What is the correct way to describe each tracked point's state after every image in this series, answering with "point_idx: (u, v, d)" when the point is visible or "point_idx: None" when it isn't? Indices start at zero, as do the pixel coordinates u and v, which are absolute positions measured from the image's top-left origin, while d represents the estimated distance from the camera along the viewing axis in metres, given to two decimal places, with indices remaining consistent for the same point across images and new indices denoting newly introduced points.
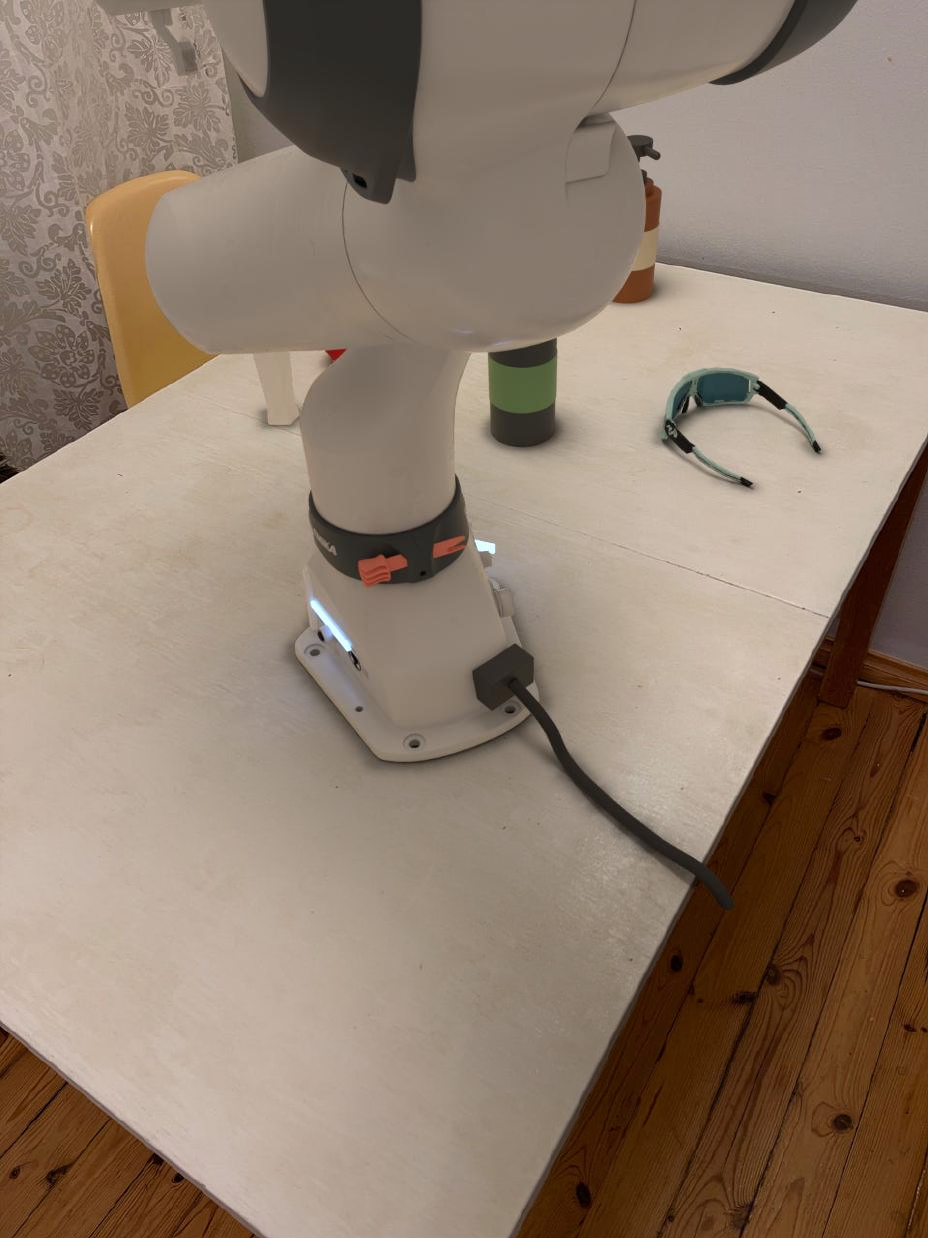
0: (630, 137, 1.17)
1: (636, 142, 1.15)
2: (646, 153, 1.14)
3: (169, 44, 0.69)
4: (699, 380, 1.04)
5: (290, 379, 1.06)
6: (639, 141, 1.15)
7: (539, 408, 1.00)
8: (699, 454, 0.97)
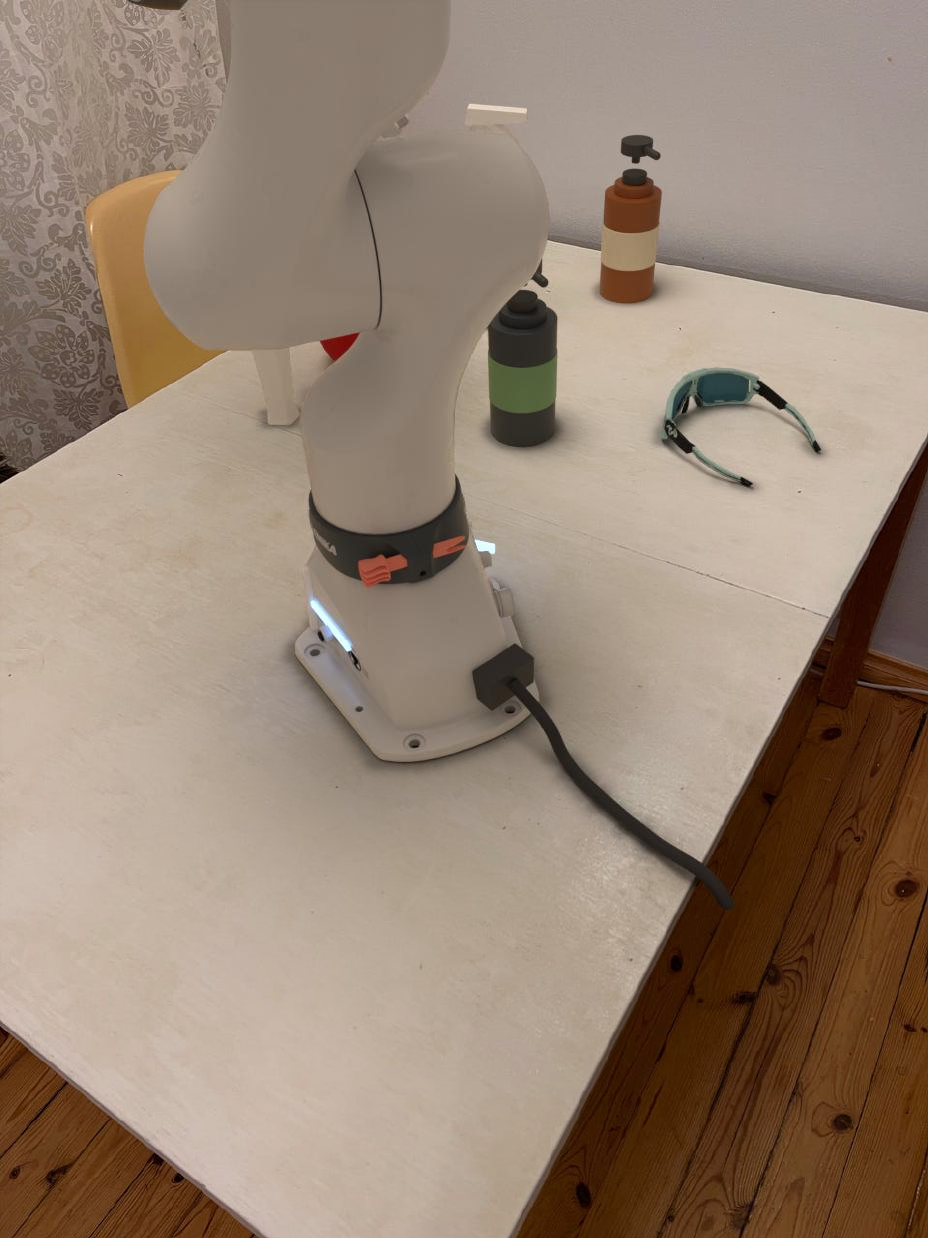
0: (630, 137, 1.17)
1: (636, 142, 1.15)
2: (646, 153, 1.14)
3: None
4: (699, 380, 1.04)
5: (290, 379, 1.06)
6: (639, 141, 1.15)
7: (539, 408, 1.00)
8: (699, 454, 0.97)
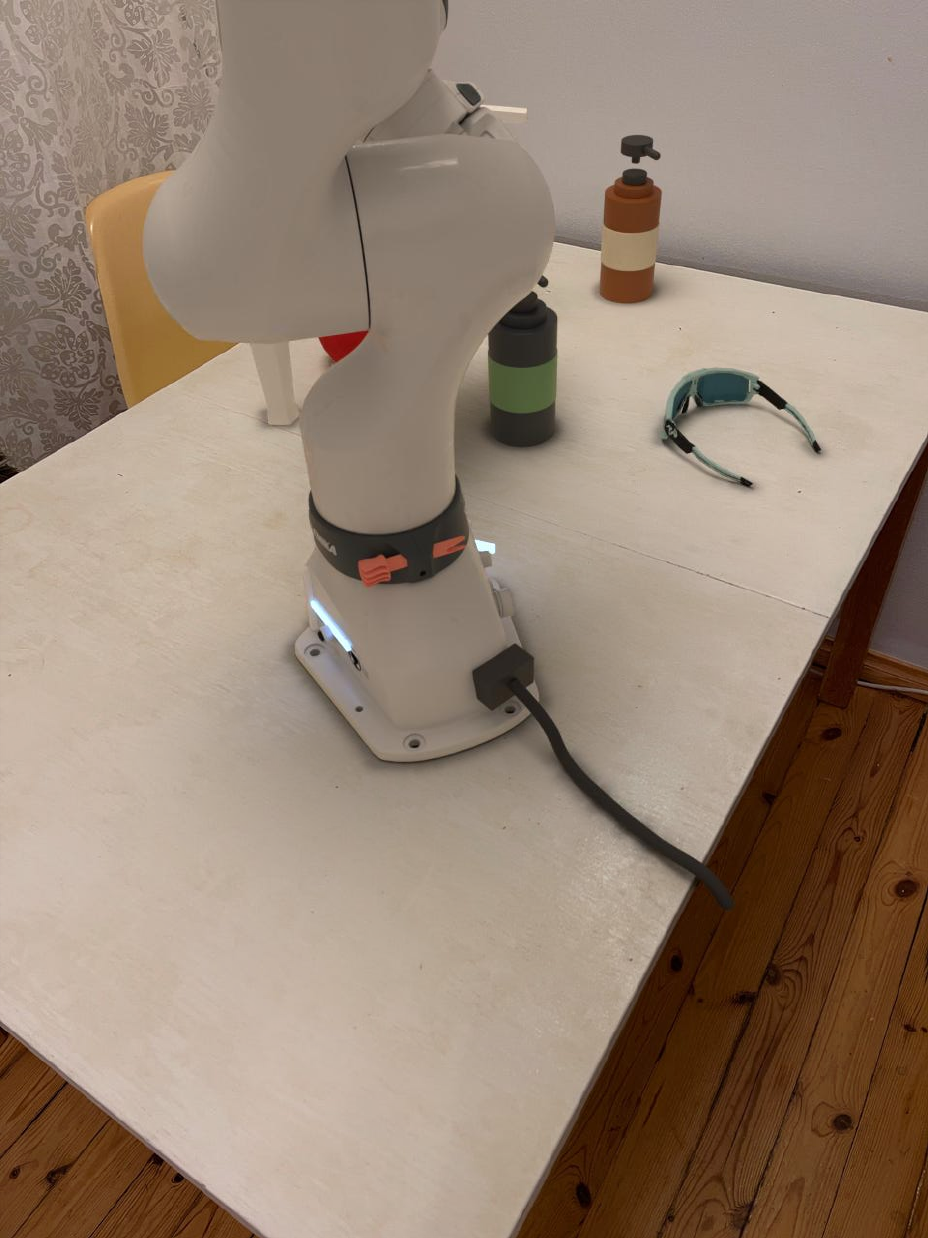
0: (630, 137, 1.17)
1: (636, 142, 1.15)
2: (646, 153, 1.14)
3: None
4: (699, 380, 1.04)
5: (290, 379, 1.06)
6: (639, 141, 1.15)
7: (539, 408, 1.00)
8: (699, 454, 0.97)
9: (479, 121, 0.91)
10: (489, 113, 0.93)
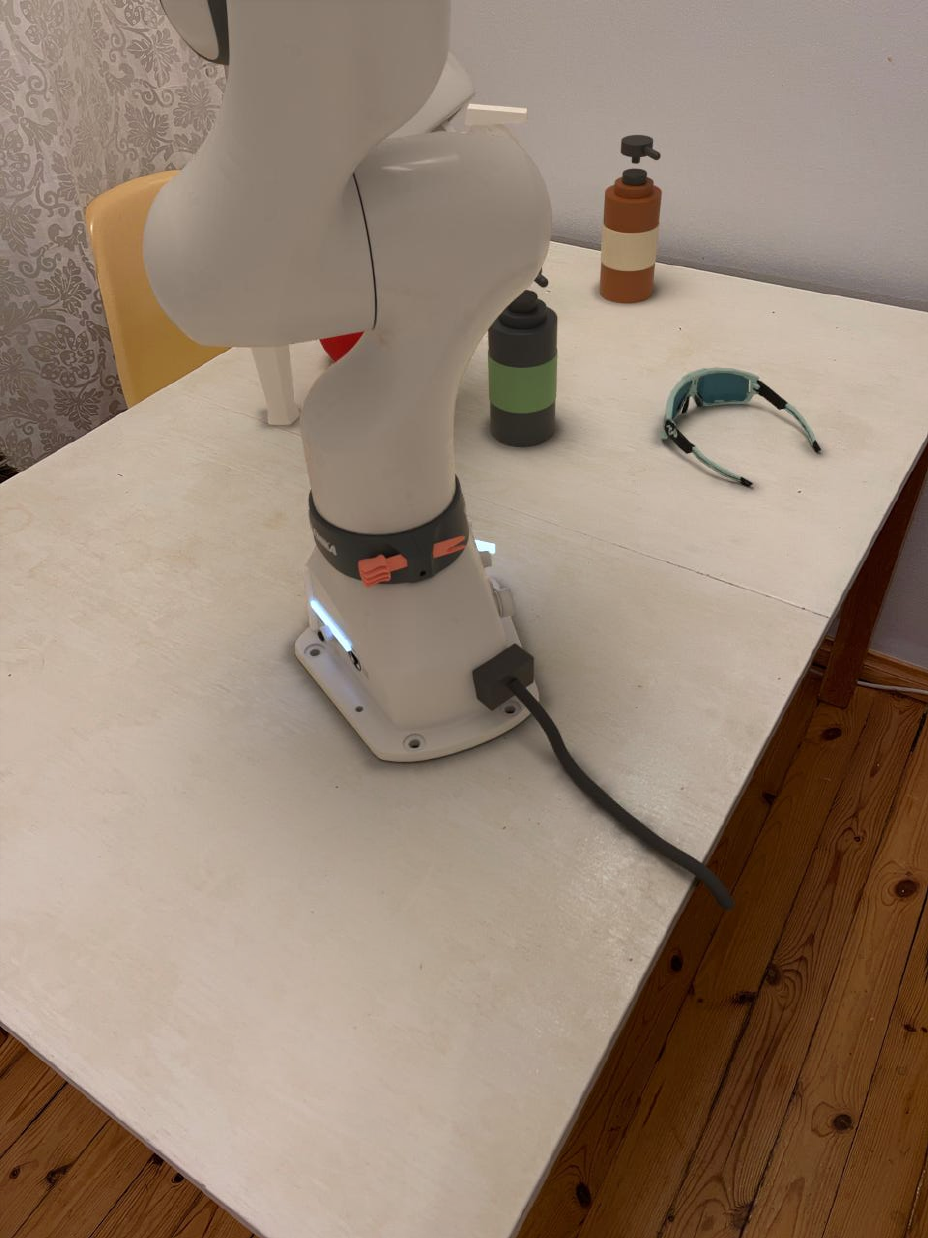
0: (630, 137, 1.17)
1: (636, 142, 1.15)
2: (646, 153, 1.14)
3: None
4: (699, 380, 1.04)
5: (290, 379, 1.06)
6: (639, 141, 1.15)
7: (539, 408, 1.00)
8: (699, 454, 0.97)
9: None
10: None
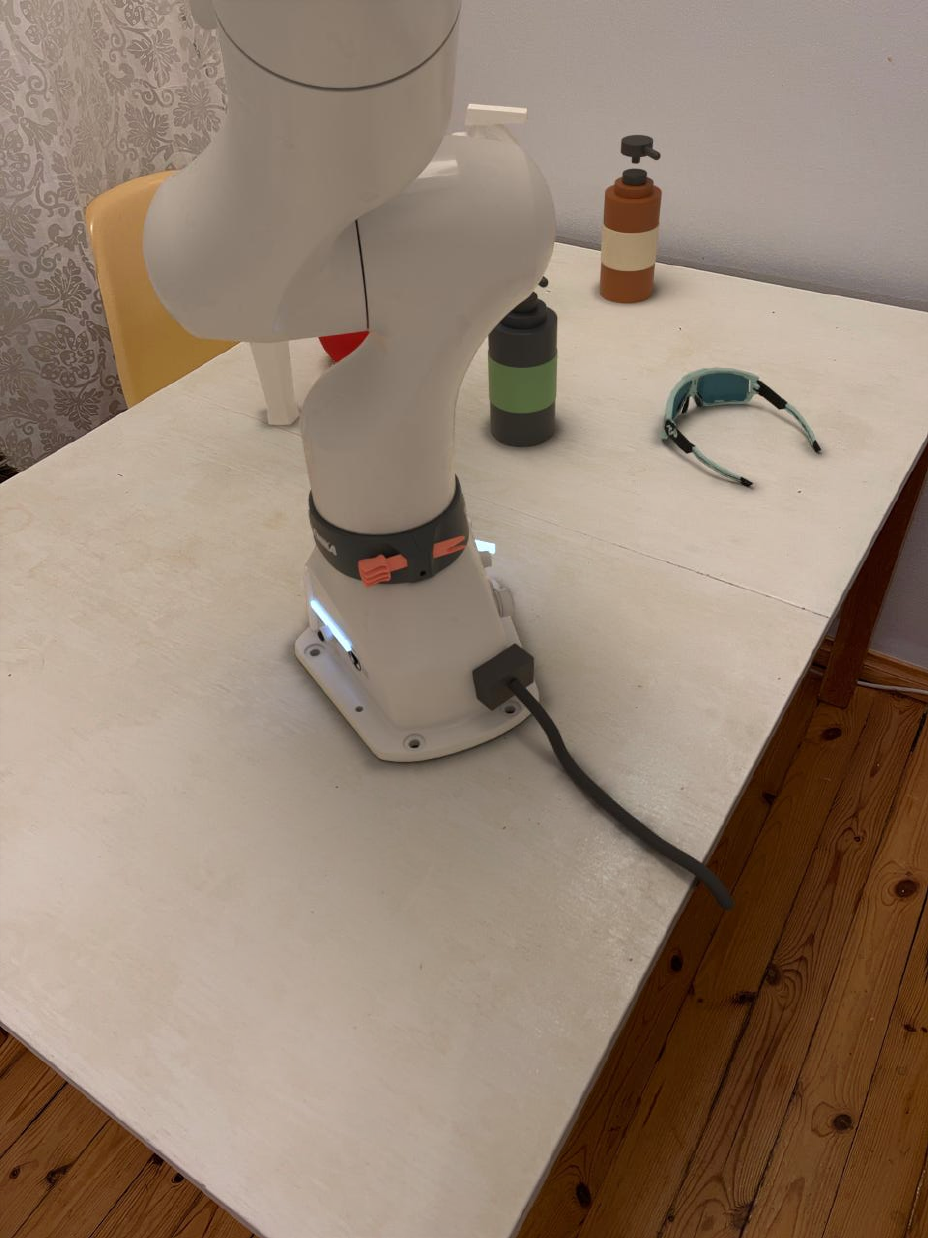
0: (630, 137, 1.17)
1: (636, 142, 1.15)
2: (646, 153, 1.14)
3: None
4: (699, 380, 1.04)
5: (290, 379, 1.06)
6: (639, 141, 1.15)
7: (539, 408, 1.00)
8: (699, 454, 0.97)
9: None
10: None
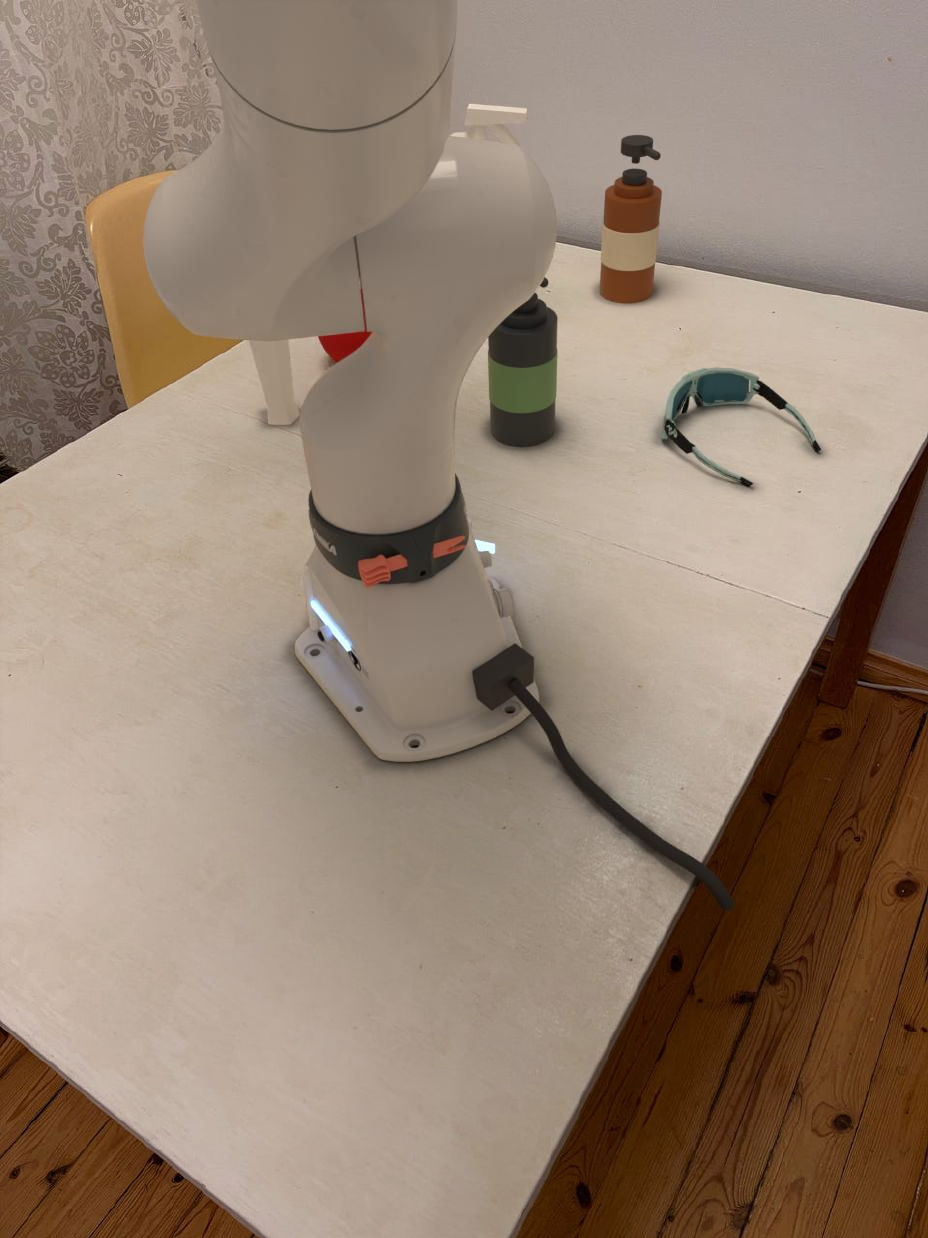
0: (630, 137, 1.17)
1: (636, 142, 1.15)
2: (646, 153, 1.14)
3: None
4: (699, 380, 1.04)
5: (290, 379, 1.06)
6: (639, 141, 1.15)
7: (539, 408, 1.00)
8: (699, 454, 0.97)
9: None
10: None
